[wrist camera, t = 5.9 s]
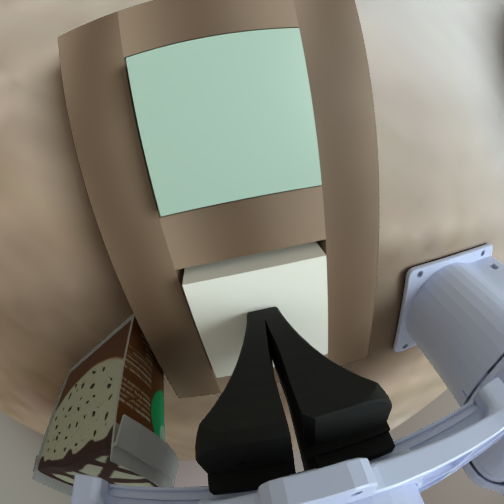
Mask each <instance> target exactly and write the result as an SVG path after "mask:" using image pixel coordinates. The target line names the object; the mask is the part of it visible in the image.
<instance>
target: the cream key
mask: <svg viewBox="0 0 504 504" xmlns="http://www.w3.org/2000/svg"><path fill="white" fill-rule="evenodd" d="M182 286H183V289H184V292H185V295H186V298H187V301H188V304H189V306H190V309H191V312H192V315H193V318H194V321H195V323H196V326H197V329H198V331H199V334H200V337H201V340H202V342H203V345H204V347H205V350H206V353H207V355H208V358H209V360H210V363H211V365H212V368H213V370H214V373H215V375H216V378H219V377H225V376H231V375H232V373H233V371H234V369H235V366H236V364H237V361H238V358H239V355H240V352H241V348H242V345H243V341H244V336H245V331H246V325H247V314H248V312H251V311H256V310H261V309H266V308H270V307H275V306H276V307H277V308H278V309H279V310H280V312H281V313H282V315H283V316H284V318H285V319H286V320H287V321H288V323H289V324H290V325H291V326H292V327H293V328H294V329H295V330H296V331H297V332H298V334H299V335H300V336H301V337H302V338H304V339H305V340H306V341H307V342H308V343H309V344H310V345H311V346H312V347H314V348H315V349H316V350H317V351H319V352H320V353H321V354H323V355H325V354H328V289H327V259H326V254H325V253H324V252H323V250H322V249H321V248H320V246H319V245H318V244H317V242H316V241H315V242H310V243H305V244H300V245H296V246H291V247H286V248H281V249H276V250H271V251H266V252H261V253H256V254H252V255H247V256H242V257H237V258H232V259H227V260H222V261H217V262H212V263H207V264H202V265H198V266H193V267H188V268H185V269H184V276H183V283H182ZM272 361H273V360H272ZM273 367H275V366H274V363H273Z"/></svg>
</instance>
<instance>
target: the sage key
mask: <svg viewBox="0 0 504 504" xmlns="http://www.w3.org/2000/svg"><path fill="white" fill-rule="evenodd" d="M126 62H127V68H128V74H129V80H130V86H131V91H132V97H133V102H134V107H135V112H136V117H137V122H138V127H139V131H140V136H141V140H142V145H143V149H144V153H145V157H146V162H147V166H148V170H149V174H150V178H151V182H152V186H153V189H154V193H155V197H156V201H157V204H158V208H159V212H160V215H161V216H166V215H170V214H174V213H179V212H183V211H188V210H192V209H197V208H201V207H206V206H211V205H215V204H220V203H225V202H230V201H235V200H240V199H245V198H250V197H256V196H261V195H266V194H272V193H277V192H283V191H289V190H295V189H301V188H307V187H313V186H319V185H322V181H321V171H320V161H319V152H318V143H317V135H316V127H315V119H314V112H313V105H312V98H311V91H310V85H309V79H308V73H307V67H306V61H305V56H304V50H303V45H302V40H301V35H300V30H299V28H283V29H267V30H256V31H246V32H238V33H230V34H223V35H217V36H211V37H205V38H200V39H195V40H190V41H186V42H181V43H177V44H173V45H169V46H165V47H161V48H157V49H153V50H150V51H146V52H143V53H140V54H137V55H133V56H130V57H127V58H126Z"/></svg>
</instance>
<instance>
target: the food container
mask: <svg viewBox="0 0 504 504" xmlns="http://www.w3.org/2000/svg"><path fill="white" fill-rule="evenodd" d="M163 379H164V372H163V370H162V368H161V366H160V364H159V363H158V361H157V359H156V357H155V355H154V353H153V351H152V350H151V348H150V346H149V344H148V342H147V340H146V338H145V336H144V334H143V332H142V330H141V328H140V326H139V324H138V322H137V319H136V317H135V315H134V314H132V315H131V316H130V317H129V318H128V319H127V320H125V321H124V322H123V323H122V324H121V325H120V326H119V327H117V328H116V329H115V330H114V331H113V332H112V333H111V334H109V335H108V336H107V337H106V338H105V339H104V340H103V341H101V342H100V343H99V344H98V345H97V346H96V347H95V348H94V349H92V350H91V351H90V352H89V353H88V354H87V355H86V356H85V357H83V358H82V359H81V360H80V361H79V362H78V363H77V364H76V365H75V366H73V367H72V368H71V369H70V370H69V372H68V375H67V377H66V379H65V382H64V384H63V387H62V389H61V392H60V394H59V397H58V400H57V402H56V405H55V408H54V410H53V413H52V416H51V419H50V421H49V424H48V427H47V430H46V433H45V436H44V439H43V442H42V446H41V449H40V452H39V455H38V456H36V459H35V464H34V470H33V471H34V474H33V479H34V480H36V481H38V482H40V483H42V484H44V485H46V486H48V487H50V488H52V489H55V490H57V491H60V492H63V493H65V494H68V495H71V496H72V490H73V484H74V478H75V474H84V475H90V476H96V477H99V478H102V479H104V480H105V481H107V482H108V483H109V484H116V485H126V486H141V487H174V482H175V479H176V475H177V471H178V467H179V463H178V458H177V456H176V454H175V452H174V451H173V450H172V449H171V447H170V446H169V445H168V444H167V443H166V442H165V431H164V384H163Z"/></svg>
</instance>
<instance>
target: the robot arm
mask: <svg viewBox="0 0 504 504" xmlns="http://www.w3.org/2000/svg"><path fill="white" fill-rule="evenodd" d="M492 251H493V246H492V245H491V244H485V245H482V246H479V247H476V248H473V249H470V250H467V251H464V252H461V253H458V254H455V255H452V256H448V257H445V258H442V259H439V260H436V261H432V262H429V263H426V264H422V265H419V266H415V267H412V268H410V269H409V270H408V272H407V274H406V280H405V287H404V294H403V300H402V306H401V312H400V318H399V323H398V328H397V333H396V338H395V342H394V347H393V349H394V351H395V352H397V353H398V352H401V351H404V350H406V349H409V348H411V347H414V346H416V345H418V347H419V348H420V349H421V351H422V352H423V353H424V355H425V356H426V358H427V359H428V360H429V362H430V363H431V364H432V366H433V367H434V369H435V370H436V372H437V373H438V374H439V376H440V377H441V379H442V380H443V382H444V383H445V384H446V386H447V387H448V389H449V390H450V392H451V393H452V395H453V396H454V398H455V399H456V401H457V402H458V404H459V405H460V408H459V409H457V410H455V411H454V412H452V413H451V414H449V415H447V416H445V417H443V418H441V419H439V420H437V421H436V422H434V423H432V424H430V425H428V426H426V427H424V428H422V429H420V430H418V431H416V432H414V433H411V434H409V435H407V436H405V437H403V438H401V439H398V440H396V441H393V440H392V438H391V436H390V434H389V430H390V427H389V425H388V423H387V419H388V416H389V414H390V411H391V408H392V403H391V401H390V399H389V397H388V395H387V394H386V393H385V391H384V390H383V389H382V388H381V386H380V385H379V384H378V383H377V382H374V381H371V380H369V379H366V378H363V377H361V376H359V375H356V374H354V373H352V372H350V371H348V370H346V369H345V368H343V367H341V366H340V365H338V364H336V363H334V362H333V361H331V360H330V359H328V358H327V357H325V356H324V355H323V354H321V353H320V352H319V351H317V350H316V349H315V348H314V347H312V346H311V345H310V344H309V343H308V342H307V341H306V340H305V339H304V338H302V337H301V336H300V335H299V334H298V332H297V331H296V330H295V329H294V328H293V327H292V326H291V325H290V324H289V323H288V321H287V320H286V319H285V318H284V316H283V315H282V313H281V312H280V310H279V309H278V308H277V307H276V306H275V307H270V308H266V309H261V310H256V311H251V312H248V314H247V325H246V331H245V336H244V341H243V345H242V348H241V352H240V355H239V358H238V361H237V364H236V366H235V369H234V371H233V373H232V375H231V378H230V380H229V382H228V383H227V385H226V387H225V389H224V391H223V393H222V394H221V396H220V397H219V399H218V400H217V402H216V403H215V405H214V406H213V408H212V409H211V411H210V412H209V413H208V414H207V416H206V417H205V418H204V419H203V420H202V422H201V423H200V424H199V428H198V432H197V437H196V445H195V451H196V461H197V463H198V464H199V465H200V466H201V467H202V468H203V469H204V470H205V471H206V472H207V473H208V484H209V486H201V487H141V486H126V485H116V484H109V483H108V482H107V481H105V480H104V479H102V478H99V477H96V476H90V475H84V474H75V478H74V484H73V490H72V498H71V504H424V502H423V499H422V497H421V495H420V492H421V491H423V490H425V489H427V488H429V487H430V486H432V485H434V484H436V483H437V482H439V481H441V480H442V479H444V478H446V477H447V476H449V475H450V474H452V473H453V472H455V471H456V470H458V469H459V468H461V467H463V469H464V471H465V473H466V474H467V476H468V477H469V478H470V479H471V480H472V481H473V482H474V483H475V484H477V485H478V486H480V487H482V488H485V489H490V490H495V491H498V492H499V493H501V494H502V495H504V265H503V264H502V263H500V262H499V261H498V260H496V259H495V258H493V257H492V256H491V255H492ZM418 273H419V274H418ZM272 360H273V361H272ZM273 363H274V366H275V369H276V372H277V374H278V377H279V380H280V382H281V385H282V388H283V391H284V393H285V396H286V399H287V402H288V406H289V410H290V414H291V418H292V422H293V426H294V430H295V434H296V438H297V442H298V446H299V450H300V454H301V459H302V463H303V467H304V471H303V472H298V473H296V472H295V465H294V457H293V450H292V443H291V436H290V432H289V428H288V424H287V420H286V416H285V413H284V410H283V406H282V403H281V399H280V395H279V392H278V388H277V384H276V381H275V377H274V369H273Z"/></svg>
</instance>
